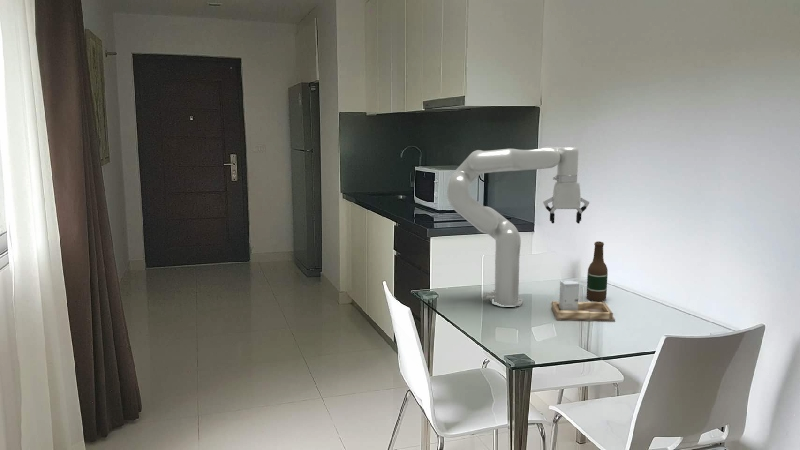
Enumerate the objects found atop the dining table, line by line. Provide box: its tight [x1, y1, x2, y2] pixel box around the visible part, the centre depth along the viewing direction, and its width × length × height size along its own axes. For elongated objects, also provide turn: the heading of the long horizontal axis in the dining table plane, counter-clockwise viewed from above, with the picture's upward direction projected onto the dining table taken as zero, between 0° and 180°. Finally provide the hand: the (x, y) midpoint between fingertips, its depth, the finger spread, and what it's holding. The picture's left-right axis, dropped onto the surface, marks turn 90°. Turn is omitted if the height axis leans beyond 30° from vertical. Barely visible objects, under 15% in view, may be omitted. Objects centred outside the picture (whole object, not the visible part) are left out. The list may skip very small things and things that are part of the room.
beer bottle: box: [586, 240, 609, 302], centre depth 240 cm, size 8×8×24 cm
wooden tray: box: [550, 301, 616, 322], centre depth 225 cm, size 21×13×3 cm, turn 85°
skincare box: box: [558, 280, 580, 311], centre depth 224 cm, size 6×4×12 cm
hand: (565, 222), depth 230 cm, fingers open, 9 cm apart
